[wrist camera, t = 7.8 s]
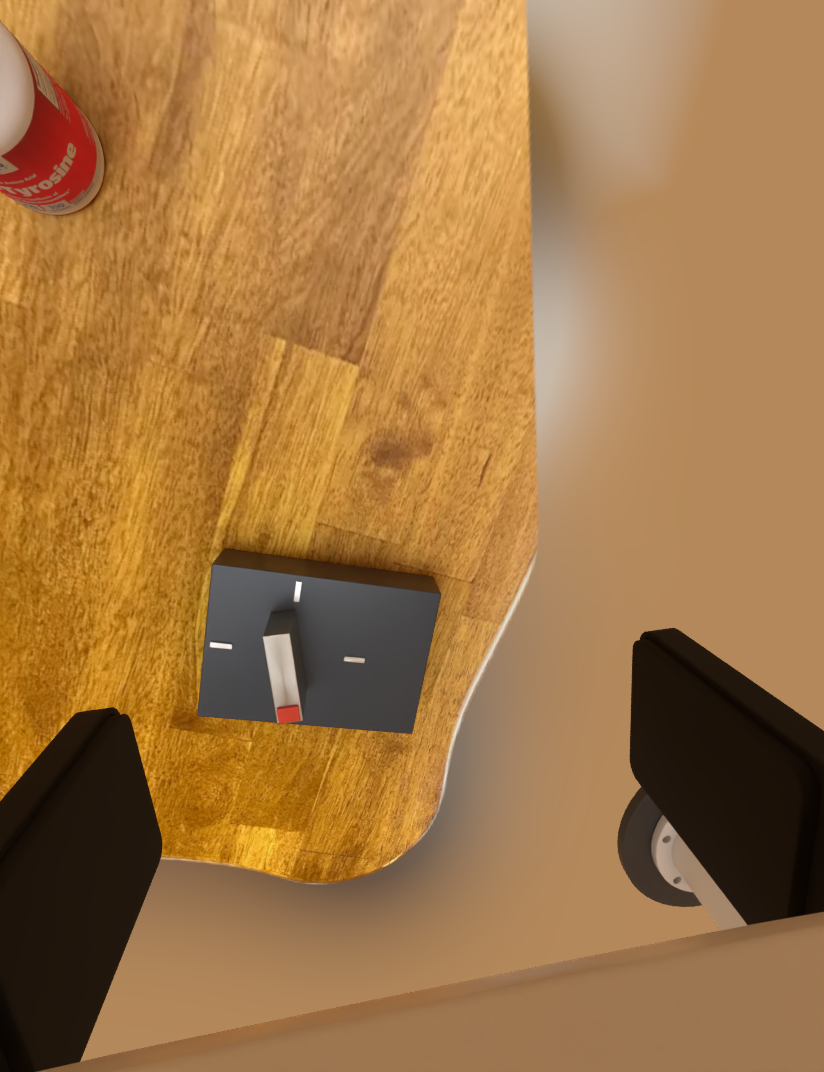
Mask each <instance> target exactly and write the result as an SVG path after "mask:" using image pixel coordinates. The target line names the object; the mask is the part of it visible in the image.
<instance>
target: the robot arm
mask: <svg viewBox="0 0 824 1072" xmlns="http://www.w3.org/2000/svg"><path fill="white" fill-rule="evenodd" d="M630 732H631V733H630V764H631V768H632V772H633V774H634V776H635V778H636V780H637V781H638V782H639V784H640V785H641V786H642V788H643V789H644V790H645V792H646V793H647V794H648V796H649V797H650V798H651V800H652V801H653V802H654V803H655V805H656V806H657V807H658V809H659V810H660V811H661V813H662V814H663V815H662V817H661V818H660V820H659V822H658V823H657V825H656V828H655V830H654V833H653V837H652V842H651V854H652V857H653V861H654V864H655V865H656V867H657V869H658V870H659V872H660V873H661V875H662V876H663V877H664V879H665V880H666V881H667V882H668V883H670V884H671V885H672V886H674V887H676V888H678V889H681V890H684V891H688V892H693V893H694V894H695V895H696V897H697V898H698V900H699V901H700V903H701V904H702V905H703V907H704V908H705V910H706V911H707V912H708V914H709V915H710V917H711V918H712V920H713V921H714V922H715V924H716V925H717V926H718V928H719V929H720V931H716V932H711V933H706V934H701V935H696V936H692V937H686V938H681V939H676V940H671V941H665V942H660V943H655V944H650V945H645V946H640V947H635V948H630V949H624V950H619V951H614V952H609V953H604V954H599V955H594V956H589V957H584V958H579V959H574V960H569V961H563V962H559V963H554V964H549V965H544V966H539V967H534V968H529V969H524V970H519V971H514V972H509V973H504V974H499V975H494V976H489V977H484V978H479V979H474V980H469V981H464V982H459V983H455V984H450V985H445V986H440V987H435V988H431V989H425V990H420V991H415V992H410V993H405V994H401V995H396V996H391V997H386V998H381V999H376V1000H371V1001H366V1002H361V1003H357V1004H351V1005H347V1006H342V1007H337V1008H332V1009H327V1010H322V1011H317V1012H313V1013H308V1014H303V1015H298V1016H294V1017H289V1018H284V1019H280V1020H275V1021H270V1022H265V1023H260V1024H255V1025H251V1026H246V1027H242V1028H236V1029H232V1030H227V1031H222V1032H217V1033H212V1034H208V1035H203V1036H198V1037H193V1038H189V1039H184V1040H179V1041H174V1042H170V1043H165V1044H161V1045H156V1046H150V1047H146V1048H141V1049H136V1050H132V1051H127V1052H122V1053H117V1054H113V1055H108V1056H104V1057H99V1058H95V1059H91V1060H86V1061H82V1062H80V1061H81V1058H82V1056H83V1053H84V1050H85V1048H86V1045H87V1043H88V1040H89V1038H90V1035H91V1033H92V1030H93V1028H94V1025H95V1023H96V1020H97V1018H98V1015H99V1013H100V1010H101V1008H102V1005H103V1003H104V1000H105V998H106V995H107V993H108V990H109V988H110V985H111V982H112V980H113V978H114V975H115V972H116V970H117V967H118V965H119V962H120V960H121V957H122V955H123V952H124V950H125V947H126V945H127V942H128V940H129V937H130V935H131V932H132V930H133V927H134V925H135V922H136V920H137V917H138V915H139V912H140V909H141V907H142V905H143V902H144V900H145V897H146V894H147V892H148V889H149V887H150V885H151V882H152V879H153V877H154V874H155V872H156V869H157V867H158V864H159V861H160V858H161V853H162V837H161V833H160V829H159V825H158V822H157V818H156V814H155V810H154V806H153V803H152V799H151V795H150V791H149V787H148V784H147V780H146V776H145V772H144V769H143V765H142V761H141V757H140V753H139V750H138V746H137V742H136V738H135V734H134V731H133V727H132V723H131V720H130V718H129V716H128V715H126V714H122V715H120V713H119V712H118V710H117V709H115V708H113V707H112V708H105V709H98V710H91V711H83V712H78V713H76V714H75V715H74V716H73V717H72V718H71V719H70V720H69V721H68V722H67V724H66V725H65V726H64V727H63V728H62V729H61V731H60V732H59V733H58V734H57V735H56V737H55V738H54V739H53V740H52V741H51V742H50V744H49V745H48V746H47V747H46V748H45V749H44V751H43V752H42V753H41V754H40V755H39V757H38V758H37V759H36V760H35V761H34V762H33V764H32V765H31V766H30V767H29V768H28V769H27V771H26V772H25V773H24V774H23V775H22V776H21V778H20V779H19V780H18V781H17V782H16V784H15V785H14V786H13V787H12V788H11V789H10V791H9V792H8V793H7V794H6V795H5V796H4V798H3V799H2V800H1V801H0V1072H824V731H823V730H822V729H820V728H819V727H817V726H816V725H814V724H813V723H812V722H810V721H808V720H807V719H806V718H804V717H803V716H801V715H800V714H799V713H797V712H795V711H794V710H793V709H791V708H790V707H788V706H787V705H786V704H784V703H783V702H781V701H780V700H778V699H777V698H776V697H774V696H773V695H771V694H770V693H768V692H767V691H765V690H764V689H763V688H761V687H760V686H758V685H757V684H755V683H754V682H753V681H751V680H750V679H748V678H747V677H745V676H744V675H743V674H741V673H740V672H738V671H737V670H735V669H734V668H732V667H731V666H730V665H728V664H727V663H725V662H724V661H722V660H721V659H720V658H718V657H717V656H715V655H714V654H712V653H711V652H710V651H708V650H706V649H705V648H704V647H702V646H701V645H699V644H698V643H696V642H695V641H694V640H692V639H691V638H689V637H688V636H686V635H685V634H684V633H682V632H681V631H679V630H678V629H675V628H669V629H662V630H655V631H648V632H644V633H643V634H642V635H641V637H640V640H638V641H636V642H635V643H634V645H633V657H632V693H631V730H630Z"/></svg>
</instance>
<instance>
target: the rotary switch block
mask: <svg viewBox="0 0 824 1072" xmlns="http://www.w3.org/2000/svg"><path fill="white" fill-rule="evenodd" d="M440 598H441V592H440V590H439V588H438V586H437V584H436V582H435V580H434V578H433V577H430V576H423V575H416V574H408V573H401V572H393V571H386V570H379V569H371V568H364V567H356V566H349V565H342V564H334V563H327V562H319V561H312V560H305V559H297V558H290V557H283V556H275V555H268V554H260V553H253V552H246V551H238V550H231V549H224V550H223V551H222V552H221V553H220V555H219V556H218V557H217V559H216V560H215V561H214V562H213V564H212V571H211V581H210V591H209V601H208V612H207V622H206V632H205V642H204V652H203V662H202V673H201V683H200V693H199V703H198V713H197V715H198V716H203V717H215V718H227V719H239V720H251V721H263V722H275V723H277V719H276V713H275V707H274V701H273V695H272V689H271V683H270V678H269V672H268V666H267V660H266V654H265V648H264V642H263V635H264V632H265V629H266V626H267V623H268V620H269V617H270V614H271V613H274V612H282V611H290V610H295V612H296V619H297V626H298V633H299V639H300V646H301V653H302V660H303V666H304V673H305V680H306V687H307V694H306V702H305V710H304V718H303V721H298V722H291V723H287V724H299V725H311V726H323V727H335V728H347V729H359V730H371V731H383V732H395V733H407V734H412V733H413V728H414V723H415V718H416V713H417V708H418V704H419V699H420V694H421V689H422V684H423V680H424V675H425V670H426V665H427V660H428V656H429V651H430V646H431V641H432V636H433V631H434V627H435V622H436V617H437V612H438V607H439V603H440Z"/></svg>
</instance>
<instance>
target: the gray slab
mask: <svg viewBox="0 0 824 1072" xmlns="http://www.w3.org/2000/svg"><path fill="white" fill-rule="evenodd" d="M263 642H264V648H265V654H266V660H267V666H268V672H269V678H270V683H271V689H272V695H273V701H274V707H275V713H276V719H277V724H284V723H291V722H298V721H303V718H304V710H305V702H306V694H307V687H306V680H305V673H304V666H303V660H302V653H301V646H300V639H299V633H298V626H297V619H296V612H295V610H290V611H282V612H274V613H271V614H270V617H269V620H268V623H267V626H266V629H265V632H264V635H263Z"/></svg>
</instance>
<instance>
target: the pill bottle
mask: <svg viewBox="0 0 824 1072" xmlns="http://www.w3.org/2000/svg"><path fill="white" fill-rule="evenodd" d="M103 175H104V156H103V151H102V147H101V144H100V141H99V138H98V136H97V134H96V132H95V130H94V128H93V126H92V125H91V123H90V121H89V120H88V119H87V117H86V116H85V115H84V114H83V112H82V111H81V110H80V109H79V108H78V106H77V105H76V104H75V103H74V102H73V101H72V100H71V99H70V97H69V96H68V95H67V94H66V93H65V92H64V91H63V90H62V89H61V87H60V86H59V85H58V84H57V83H56V82H55V81H54V80H53V78H52V77H51V76H50V75H49V74H48V73H47V72H46V71H45V70H44V69H43V67H42V66H41V65H40V64H39V63H38V62H37V61H36V60H35V59H34V57H33V56H32V55H31V54H30V53H29V52H28V51H27V50H26V49H25V48H24V46H23V45H22V44H21V43H20V42H19V41H18V40H17V38H16V37H15V36H14V35H13V34H12V33H11V32H10V31H9V30H8V28H7V27H6V26H5V25H4V24H3V23H2V22H1V21H0V192H2V193H3V194H5V195H6V196H8V197H10V198H11V199H13V200H15V201H16V202H18V203H20V204H22V205H24V206H25V207H27V208H29V209H32V210H34V211H37V212H40V213H44V214H50V215H64V214H69V213H72V212H75V211H78V210H80V209H82V208H83V207H85V206H86V205H87V204H88V203H90V202H91V201H92V199H93V198H94V197H95V196H96V194H97V193H98V191H99V189H100V187H101V184H102V181H103Z"/></svg>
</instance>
